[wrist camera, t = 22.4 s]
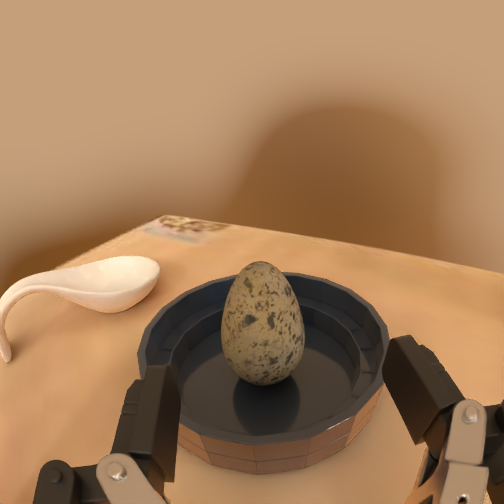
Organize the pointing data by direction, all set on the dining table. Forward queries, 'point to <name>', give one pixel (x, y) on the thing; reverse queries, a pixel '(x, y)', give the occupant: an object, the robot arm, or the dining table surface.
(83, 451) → the dining table surface
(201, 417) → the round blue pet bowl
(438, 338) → the dining table surface
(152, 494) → the robot arm
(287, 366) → the decorative egg
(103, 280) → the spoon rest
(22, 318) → the dining table surface
